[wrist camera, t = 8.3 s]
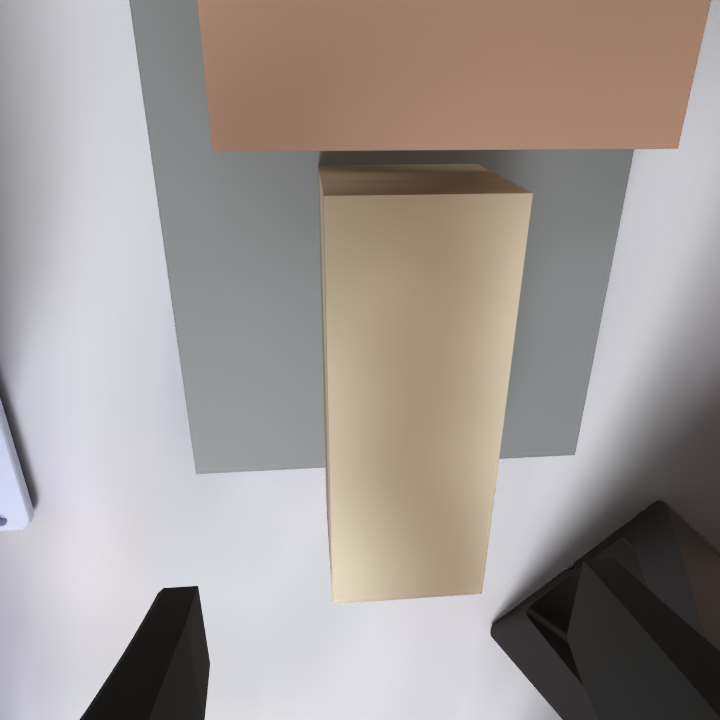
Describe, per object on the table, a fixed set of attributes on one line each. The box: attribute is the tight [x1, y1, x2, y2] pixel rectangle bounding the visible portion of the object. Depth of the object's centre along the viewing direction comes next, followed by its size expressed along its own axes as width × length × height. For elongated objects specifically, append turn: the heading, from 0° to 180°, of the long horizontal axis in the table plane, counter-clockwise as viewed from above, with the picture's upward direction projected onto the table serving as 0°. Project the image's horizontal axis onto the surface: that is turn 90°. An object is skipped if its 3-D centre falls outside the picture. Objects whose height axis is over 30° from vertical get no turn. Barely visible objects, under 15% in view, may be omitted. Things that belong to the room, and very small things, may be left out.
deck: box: [129, 0, 634, 474], centre depth 15 cm, size 12×20×2 cm, turn 0°
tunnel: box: [197, 0, 711, 152], centre depth 11 cm, size 8×3×5 cm, turn 90°
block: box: [318, 164, 533, 604], centre depth 15 cm, size 4×10×4 cm, turn 0°
